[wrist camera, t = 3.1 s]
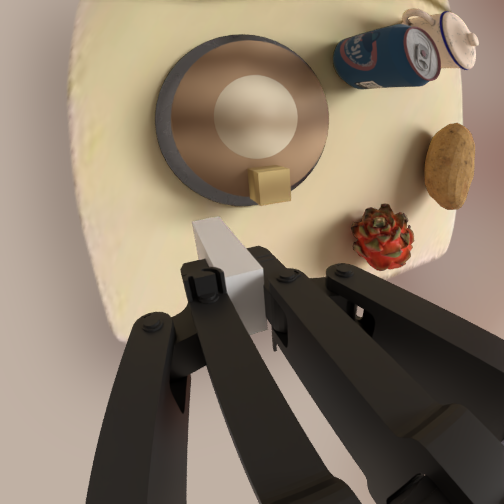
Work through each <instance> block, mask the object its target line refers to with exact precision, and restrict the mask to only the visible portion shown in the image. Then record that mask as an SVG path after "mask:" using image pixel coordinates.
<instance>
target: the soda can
mask: <svg viewBox="0 0 504 504" xmlns="http://www.w3.org/2000/svg"><path fill="white" fill-rule="evenodd" d="M333 64H334V68H335V70H336V72H337V74H338V75H339V76H340V78H341V79H342V80H344V81H345V82H346V83H347V84H349V85H350V86H352V87H354V88H357V89H372V88H387V87H416V86H423V85H425V84H426V83H428V82H429V81H433V80H435V79H436V78H437V77H438V76H439V74H440V70H441V59H440V55H439V51H438V49H437V46H436V44H435V42H434V41H433V39H432V38H431V36H430V35H429V34H428V33H427V32H426V31H425V30H423V29H421V28H419V27H411V26H408V25H405V24H396V25H392V26H388V27H384V28H380V29H376V30H373V31H369V32H366V33H362V34H359V35H356V36H352V37H349V38H346V39H344V40H342V41H341V42H339V43H338V45H337V46H336V48H335V51H334V55H333Z"/></svg>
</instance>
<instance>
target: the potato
mask: <svg viewBox="0 0 504 504" xmlns="http://www.w3.org/2000/svg"><path fill="white" fill-rule="evenodd" d="M474 158H475V144H474V141H473V137H472V134H471V133H470V131H469V130H468V129H467V128H465V127H464V126H462V125H460V124H458V123H454V124H449V125H447V126H446V127H444V128H442V129H441V130H440V131H438V132H437V133H436V134H435V136H434V137H433V138H432V141H431V143H430V145H429V148H428V152H427V155H426V160H425V185H426V189H427V191H428V193H429V195H430V196H431V197H432V198H433V199H434V200H435V201H436V202H437V203H438V204H439V205H440V206H441V207H443V208H445V209H447V210H454V209H459V208H461V207H462V205H463V204H464V202H465V200H466V197H467V194H468V191H469V187H470V184H471V182H472V179H473V176H474Z"/></svg>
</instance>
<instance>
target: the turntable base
mask: <svg viewBox="0 0 504 504" xmlns="http://www.w3.org/2000/svg"><path fill="white" fill-rule="evenodd" d="M248 40H252V41H262V42H267V43H271V44H274V45H277V46H280V47H282V48H284V49H286V50H288V51H290V52H292V53H293V54H294V55H296V56H297V57H299V58H300V59H301V60H302V61H303V62H304V63H306V62H305V61H304V60H303V59H302V58H301V57H300V56H299V55H297V54H296V53H295V52H294V51H292V50H291V49H289V48H288V47H286V46H284V45H282V44H280V43H278V42H276V41H273V40H271V39H268V38H265V37H260V36H255V35H243V34H241V35H228V36H223V37H219V38H216V39H213V40H210V41H207V42H205V43H203V44H201V45H199V46H197V47H196V48H194V49H193V50H191V51H190V52H188V53H187V54H186V55H185V56H184V57H183V58H181V59H180V60H179V61H178V62H177V64H176V65H175V66H174V67H173V68H172V70H171V71H170V73H169V74H168V76H167V78H166V79H165V81H164V83H163V85H162V88H161V90H160V93H159V96H158V100H157V104H156V114H155V125H156V134H157V139H158V143H159V146H160V149H161V151H162V154H163V156H164V158H165V160H166V162H167V164H168V165H169V167H170V168H171V169H172V171H173V172H174V174H175V175H176V176H177V177H178V178H179V179H180V180H181V181H182V182H183V183H184V184H185V185H186V186H188V187H189V188H190V189H191V190H193V191H194V192H196V193H198V194H199V195H201V196H203V197H205V198H208V199H210V200H212V201H215V202H219V203H222V204H227V205H234V206H251V205H259V204H257V203H256V202H255V201H253V200H252V199H250V197H243V196H237V195H232V194H229V193H226V192H223V191H221V190H219V189H216V188H214V187H213V186H211V185H209V184H208V183H206V182H205V181H204V180H202V179H201V178H200V177H199V176H198V175H196V174H195V173H194V172H193V171H192V170H191V168H190V167H189V166H188V165H187V164H186V162H185V161H184V160H183V158H182V157H181V155H180V153H179V151H178V149H177V147H176V144H175V141H174V138H173V134H172V129H171V108H172V103H173V99H174V95H175V93H176V90H177V88H178V86H179V84H180V82H181V80H182V78H183V77H184V75H185V73H186V72H187V71H188V70H189V68H190V67H191V66H192V65H193V64H194V63H195V62H196V61H197V60H198V59H199V58H200V57H202V56H203V55H205V54H206V53H208V52H209V51H211V50H213V49H215V48H217V47H219V46H222V45H225V44H228V43H231V42H237V41H248ZM306 65H307V66H308V67H309V65H308V64H307V63H306ZM309 68H310V67H309ZM310 69H311V68H310ZM311 70H312V69H311ZM313 73H314V72H313ZM315 76H316V75H315ZM317 79H318V78H317ZM324 147H325V145H324ZM323 149H324V148H323ZM322 152H323V151H322ZM321 155H322V153H321ZM321 155H320V157H321ZM320 157H319V159H320ZM319 159H318V160H317V162H318V161H319ZM317 162H316V163H315V165H314V166H313V167H312V169H311V170H310V171H309V172H308V173H307V174H306V175H305V176H304V177H303V178H302V179H301V180H300V181H298V182H297V183H295V184H294V185H292V186H291V191H292V190H293V189H295V188H296V187H297V186H298V185H299V184H301V183H302V182H303V181H304V180H305V179H306V178H307V176H308V175H309V174H310V173H311V172H312V170H313V169H314V167H315V166H316V164H317Z"/></svg>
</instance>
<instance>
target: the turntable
mask: <svg viewBox="0 0 504 504" xmlns="http://www.w3.org/2000/svg"><path fill="white" fill-rule="evenodd" d="M328 128H329V112H328V104H327V100H326V96H325V94H324V91H323V88H322V86H321V84H320V82H319V80H318V79H317V77H316V76H315V74H314V73H313V71H312V70H311V69H310V68H309V67H308V66H307V65H306V63H304V62H303V61H302V60H301V59H300V58H299V57H297V56H296V55H294V54H293V53H292V52H290V51H288V50H286V49H284V48H282V47H280V46H277V45H274V44H271V43H267V42H262V41H252V40H248V41H237V42H231V43H228V44H225V45H222V46H219V47H217V48H215V49H213V50H211V51H209V52H208V53H206V54H205V55H203V56H202V57H200V58H199V59H198V60H197V61H196V62H195V63H194V64H193V65H192V66H191V67H190V68H189V70H188V71H187V72H186V73H185V75H184V77H183V78H182V80H181V82H180V84H179V86H178V88H177V90H176V93H175V95H174V99H173V103H172V108H171V129H172V134H173V138H174V141H175V144H176V147H177V149H178V151H179V153H180V155H181V157H182V158H183V160H184V161H185V162H186V164H187V165H188V166H189V167H190V168H191V170H192V171H193V172H194V173H195V174H196V175H198V176H199V177H200V178H201V179H202V180H204V181H205V182H206V183H208V184H209V185H211V186H213V187H214V188H216V189H219V190H221V191H223V192H226V193H229V194H232V195H237V196H243V197H250V199H252V200H253V201H255V202H256V203H257V204H259V205H260V206H263V205H268V204H274V203H280V202H286V201H291V186H292V185H294V184H295V183H297V182H298V181H300V180H301V179H302V178H303V177H304V176H305V175H306V174H307V173H308V172H309V171H310V170H311V169H312V167H313V166H314V165H315V163H316V162H317V160H318V159H319V157H320V155H321V153H322V151H323V148H324V145H325V143H326V139H327V135H328Z"/></svg>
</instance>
